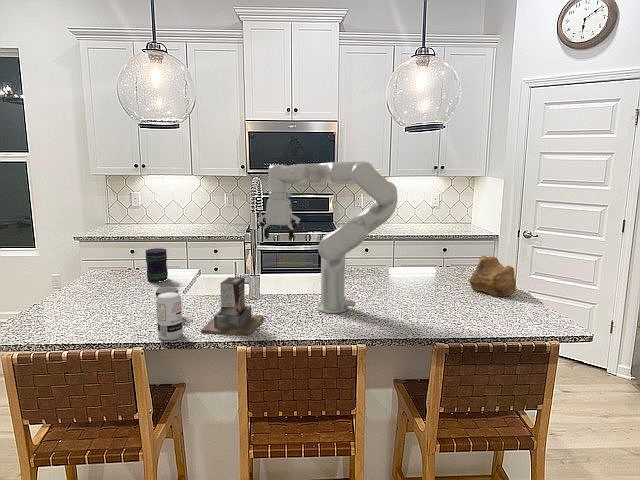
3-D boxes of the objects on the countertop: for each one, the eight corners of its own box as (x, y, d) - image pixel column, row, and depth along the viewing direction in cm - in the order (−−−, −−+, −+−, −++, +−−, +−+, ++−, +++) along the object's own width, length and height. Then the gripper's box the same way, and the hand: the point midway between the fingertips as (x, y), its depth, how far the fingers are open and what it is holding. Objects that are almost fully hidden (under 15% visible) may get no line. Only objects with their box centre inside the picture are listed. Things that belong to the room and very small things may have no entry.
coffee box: (237, 327, 175) (236, 283, 172) (220, 326, 176) (219, 282, 173) (246, 318, 184) (245, 277, 181) (229, 317, 185) (228, 276, 182)
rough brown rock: (458, 287, 234) (458, 257, 231) (490, 282, 237) (490, 252, 234) (485, 303, 212) (485, 270, 208) (519, 298, 215) (520, 265, 212)
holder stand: (263, 318, 188) (263, 304, 187) (250, 335, 170) (250, 320, 169) (218, 315, 190) (217, 302, 189) (201, 332, 173) (200, 317, 172)
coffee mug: (155, 312, 194) (154, 288, 192) (178, 309, 197) (177, 285, 195) (158, 322, 183) (157, 296, 181) (182, 319, 186) (181, 293, 185)
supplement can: (161, 332, 173) (158, 291, 170) (185, 331, 173) (183, 291, 171) (155, 341, 165) (153, 298, 162) (180, 340, 166) (178, 298, 163)
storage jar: (153, 277, 246) (151, 247, 243) (171, 277, 245) (170, 248, 242) (143, 282, 236) (141, 252, 233) (162, 283, 235) (160, 252, 232)
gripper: (301, 195, 196) (301, 237, 199) (259, 195, 198) (260, 236, 202) (298, 197, 189) (298, 241, 192) (254, 196, 191) (255, 239, 194)
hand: (278, 238), depth 197 cm, fingers open, 9 cm apart
